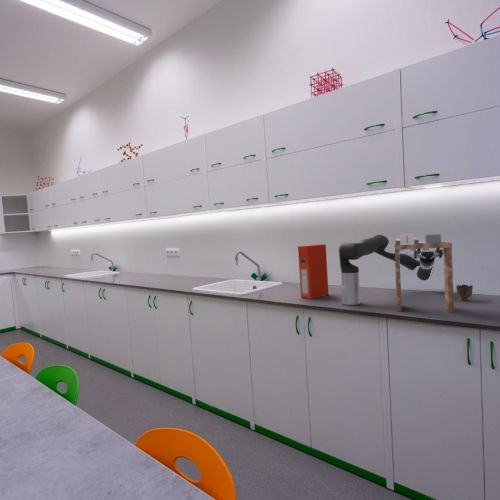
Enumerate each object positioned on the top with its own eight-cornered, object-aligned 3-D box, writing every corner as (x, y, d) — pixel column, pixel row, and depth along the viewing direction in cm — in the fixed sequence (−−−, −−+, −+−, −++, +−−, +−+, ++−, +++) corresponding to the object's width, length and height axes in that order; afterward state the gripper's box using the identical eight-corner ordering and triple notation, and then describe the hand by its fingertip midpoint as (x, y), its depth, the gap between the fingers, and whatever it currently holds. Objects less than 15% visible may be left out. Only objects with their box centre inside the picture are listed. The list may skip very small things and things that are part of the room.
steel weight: (426, 243, 167) (426, 235, 167) (423, 241, 186) (423, 234, 185) (441, 243, 165) (440, 234, 165) (436, 241, 183) (435, 233, 183)
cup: (453, 300, 188) (452, 285, 188) (462, 298, 191) (462, 283, 191) (466, 302, 181) (466, 287, 181) (476, 300, 184) (476, 285, 184)
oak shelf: (397, 311, 172) (394, 245, 170) (396, 305, 184) (394, 243, 182) (454, 312, 163) (451, 243, 161) (449, 306, 175) (447, 241, 173)
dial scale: (395, 245, 169) (395, 234, 169) (395, 243, 182) (395, 234, 181) (418, 244, 166) (418, 233, 166) (417, 242, 178) (416, 232, 178)
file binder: (300, 298, 220) (297, 246, 218) (318, 293, 231) (315, 244, 229) (311, 299, 214) (308, 246, 212) (328, 294, 225) (326, 244, 223)
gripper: (412, 255, 208) (413, 242, 195) (440, 254, 203) (443, 241, 189) (413, 267, 205) (414, 254, 191) (441, 266, 199) (444, 254, 186)
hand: (428, 248), depth 190 cm, fingers open, 8 cm apart
